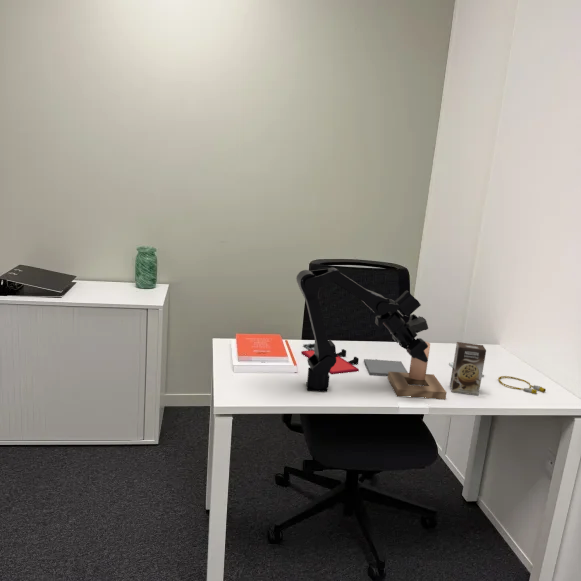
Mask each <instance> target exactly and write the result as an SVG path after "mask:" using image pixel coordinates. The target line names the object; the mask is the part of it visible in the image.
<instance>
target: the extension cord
mask: <svg viewBox="0 0 581 581" xmlns="http://www.w3.org/2000/svg"><path fill="white" fill-rule="evenodd" d="M501 379H510V380H511V379H513V380H516V381H521V382H523V383H526V384H528V386H529V387H524V388H521V387H516V386H512V385H508V384H505V383H504V382H503V381H501ZM497 380H498V383H499V384H500V385H502V386H503V387H505V388H509V389H513V390H521V391H522V390H523V392H525V393H529V394H532V395H537V392H540V393H546V388H545V387H542V386H541V385H536V384H534V385H531V383H530V382H529V381H528V380H524V379H521V378H519V377H514V376H507V375H502V376H499V377H498V379H497Z"/></svg>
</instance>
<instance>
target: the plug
mask: <svg viewBox="0 0 581 581" xmlns="http://www.w3.org/2000/svg"><path fill="white" fill-rule="evenodd" d="M424 341H425V340H424ZM425 342H426V344H427V345H428V348H426V349H425V350H424V352H425V354H426V356H427V359H428V361H427V362H426V363H425V362H423V361H421V360H419V359H417V358H413V357H411V356H410V364H409V371H408V373H409V377H410V378H412V379H415V380H424V379H425V377H426V374H427V370H428V363H429V357H430V355H429V354H430V349H431V343H430V342H428V341H425Z"/></svg>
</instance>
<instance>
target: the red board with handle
mask: <svg viewBox="0 0 581 581" xmlns="http://www.w3.org/2000/svg"><path fill="white" fill-rule="evenodd" d="M314 344H315V343H308V344H307V343H306V344H305V343H304V344H303V346H304V347H305V348H307V349H308V350H301V353H302V354H301V355H303V356H304V355H305V356H304V357H306V358H307V357H308V358H307V359H309V358H310V357H311V356H312V355H313V354H314V353H315V352H314ZM336 354H337V356H338V357H336V363H335V365H334V366H333V367H332V368H331V370H330V372H329V375H339V373H340V374H347V373H348V372H349V373H356V372H357V371H358V372H359V371H360V370H359V368H358V367H357V366H358V365H359V357H357V356H353V359H352V360H349V361H347V360H345V358H347V349H344V348H343V349H341V351H340V352H336ZM342 357H343V358H342ZM353 364H354V365H353ZM357 364H358V365H357Z"/></svg>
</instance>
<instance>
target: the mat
mask: <svg viewBox="0 0 581 581" xmlns="http://www.w3.org/2000/svg"><path fill="white" fill-rule="evenodd" d="M363 363H364V365H365V367H367V368H366V370H367V372H368V374H369V376H379V377H388V372H403V373H409V371H407V368H406V367H405V365H404V364H403V363H402V361H399V360H388V359H387V360H384V359H383V360H382V359H372V358H371V359H368V358H364V359H363Z"/></svg>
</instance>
